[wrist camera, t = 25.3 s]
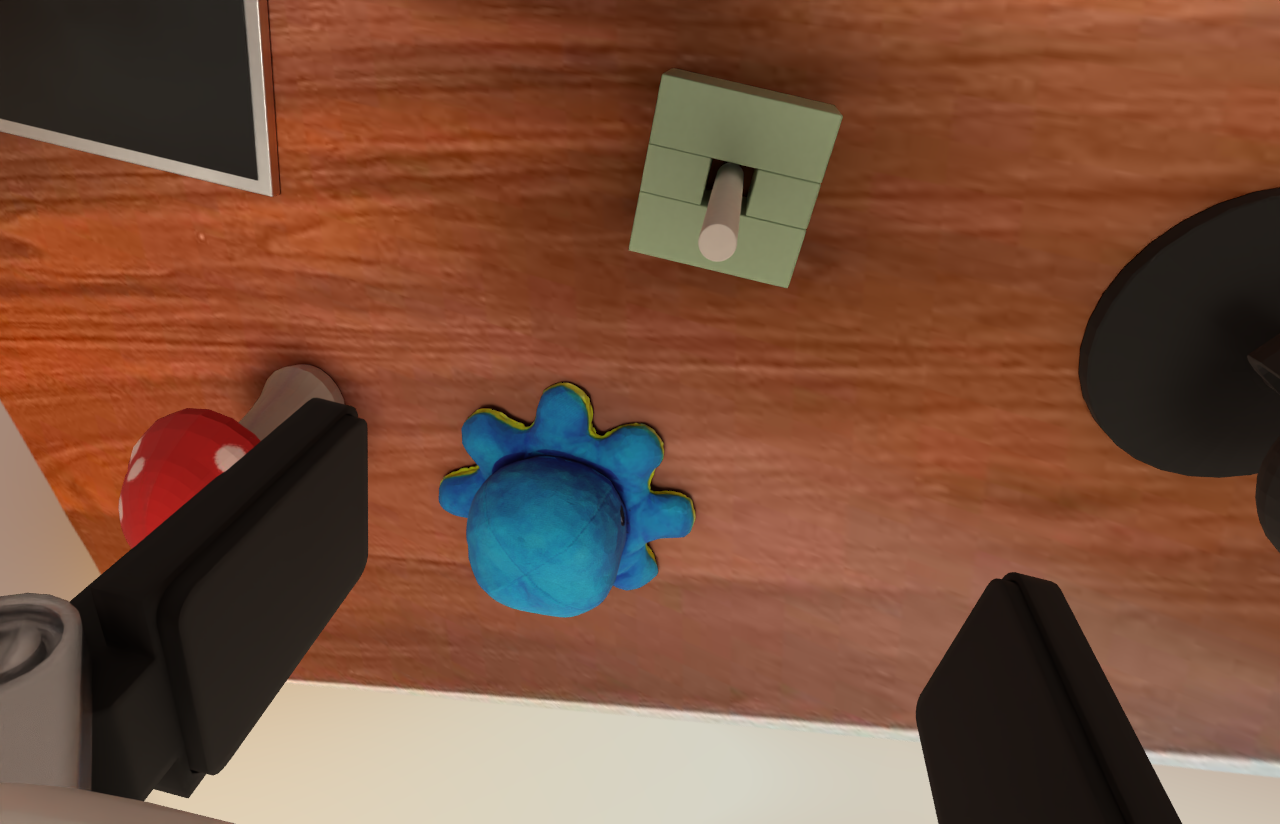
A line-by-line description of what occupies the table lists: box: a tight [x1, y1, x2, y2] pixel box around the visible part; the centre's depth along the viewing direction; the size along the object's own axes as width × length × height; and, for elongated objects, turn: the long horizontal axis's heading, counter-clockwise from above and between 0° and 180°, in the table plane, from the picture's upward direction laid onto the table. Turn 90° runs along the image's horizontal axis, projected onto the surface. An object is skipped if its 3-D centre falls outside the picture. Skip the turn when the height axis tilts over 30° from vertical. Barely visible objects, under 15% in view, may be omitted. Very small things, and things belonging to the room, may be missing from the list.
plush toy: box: [439, 382, 695, 617], centre depth 45 cm, size 17×17×8 cm
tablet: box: [0, 0, 280, 197], centre depth 37 cm, size 14×22×1 cm, turn 79°
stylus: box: [698, 163, 744, 262], centre depth 31 cm, size 1×1×13 cm
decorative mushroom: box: [119, 364, 344, 548], centre depth 42 cm, size 10×9×15 cm
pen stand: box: [629, 68, 843, 288], centre depth 35 cm, size 8×8×4 cm
